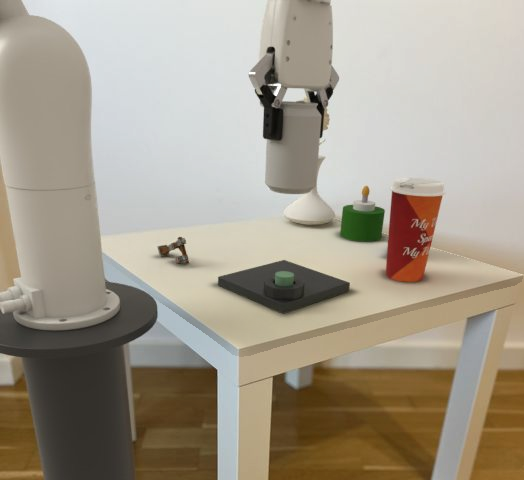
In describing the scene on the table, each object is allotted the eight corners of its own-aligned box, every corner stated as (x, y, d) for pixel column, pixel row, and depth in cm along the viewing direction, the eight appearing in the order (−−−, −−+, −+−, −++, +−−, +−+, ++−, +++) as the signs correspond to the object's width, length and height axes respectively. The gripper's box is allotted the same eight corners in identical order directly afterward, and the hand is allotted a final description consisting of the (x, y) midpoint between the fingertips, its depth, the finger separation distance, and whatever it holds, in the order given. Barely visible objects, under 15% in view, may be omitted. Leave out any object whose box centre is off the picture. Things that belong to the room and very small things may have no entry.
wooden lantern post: (185, 263, 88) (178, 236, 88) (163, 271, 95) (156, 245, 94) (195, 261, 89) (188, 234, 89) (172, 269, 96) (166, 243, 95)
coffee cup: (414, 288, 84) (431, 188, 78) (369, 275, 89) (381, 180, 82) (439, 276, 90) (456, 182, 83) (395, 264, 95) (408, 174, 88)
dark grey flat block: (283, 313, 73) (284, 292, 72) (217, 285, 82) (217, 266, 81) (349, 291, 82) (351, 272, 81) (283, 267, 91) (284, 250, 90)
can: (254, 190, 79) (257, 99, 74) (282, 184, 85) (286, 99, 80) (298, 197, 76) (305, 102, 70) (324, 190, 81) (332, 102, 76)
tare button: (284, 289, 74) (284, 278, 74) (270, 284, 76) (271, 273, 75) (297, 285, 76) (298, 274, 75) (284, 280, 78) (284, 269, 77)
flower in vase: (345, 225, 118) (358, 99, 107) (301, 231, 113) (310, 98, 102) (311, 213, 128) (319, 96, 117) (269, 217, 123) (274, 95, 112)
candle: (377, 243, 106) (384, 191, 102) (336, 238, 109) (340, 187, 104) (384, 233, 113) (390, 184, 109) (344, 229, 116) (349, 180, 111)
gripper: (324, 0, 77) (314, 133, 85) (230, -17, 66) (228, 138, 74) (367, -4, 72) (352, 138, 80) (273, -23, 62) (266, 144, 69)
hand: (293, 137), depth 77 cm, fingers closed on can, 7 cm apart
